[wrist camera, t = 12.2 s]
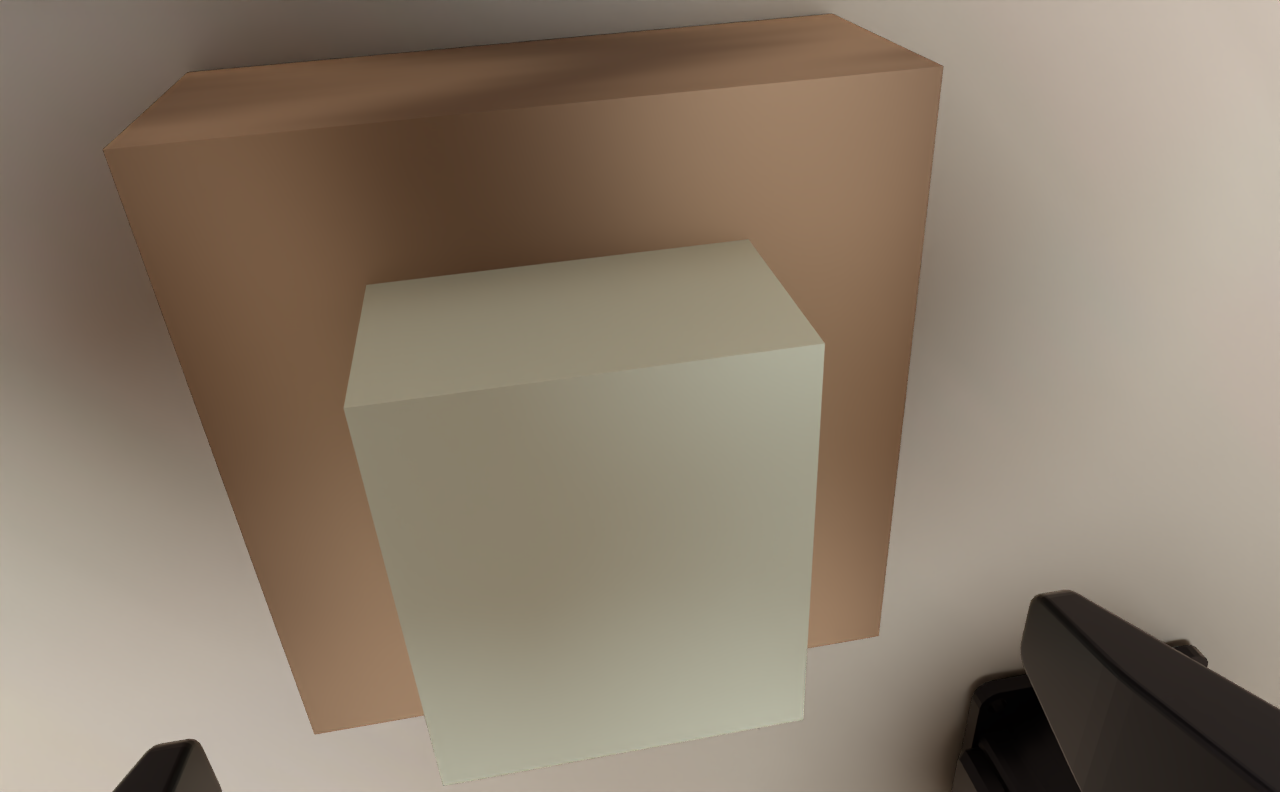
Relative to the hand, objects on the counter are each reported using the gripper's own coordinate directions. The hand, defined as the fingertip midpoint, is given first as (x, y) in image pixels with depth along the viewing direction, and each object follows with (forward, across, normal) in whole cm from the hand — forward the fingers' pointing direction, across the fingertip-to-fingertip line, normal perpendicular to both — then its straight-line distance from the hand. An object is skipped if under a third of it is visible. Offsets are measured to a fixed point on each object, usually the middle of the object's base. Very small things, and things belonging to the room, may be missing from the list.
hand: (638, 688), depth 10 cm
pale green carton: (+4, 0, 0) cm, 5 cm away
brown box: (+8, 0, 0) cm, 9 cm away
